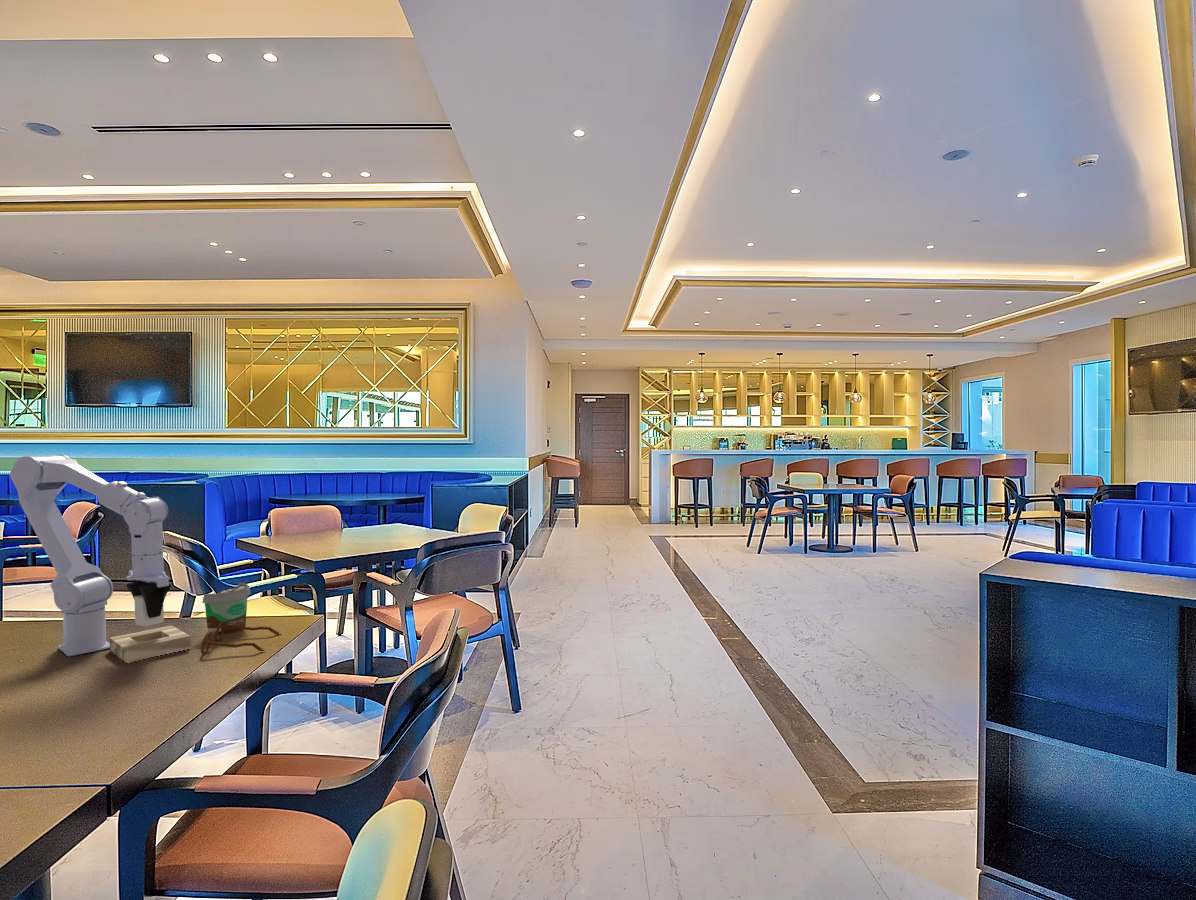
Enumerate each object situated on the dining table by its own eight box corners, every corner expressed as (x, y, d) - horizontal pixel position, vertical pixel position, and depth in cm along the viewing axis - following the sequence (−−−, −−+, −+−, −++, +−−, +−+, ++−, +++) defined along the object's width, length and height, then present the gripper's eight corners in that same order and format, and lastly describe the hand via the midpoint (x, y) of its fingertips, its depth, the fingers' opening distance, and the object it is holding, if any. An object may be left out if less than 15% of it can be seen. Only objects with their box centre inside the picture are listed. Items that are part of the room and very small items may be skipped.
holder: (110, 651, 148) (109, 637, 148) (172, 638, 157) (171, 625, 157) (126, 663, 140) (125, 649, 140) (190, 649, 149) (190, 635, 149)
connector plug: (135, 623, 148) (134, 596, 148) (155, 619, 151) (154, 592, 151) (143, 626, 146) (142, 598, 145) (163, 622, 149) (162, 595, 149)
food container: (226, 638, 157) (225, 595, 156) (203, 636, 158) (202, 594, 158) (262, 623, 169) (261, 583, 169) (241, 621, 170) (240, 582, 170)
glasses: (221, 639, 157) (220, 618, 157) (281, 636, 160) (280, 615, 159) (199, 659, 144) (198, 635, 144) (265, 654, 147) (265, 631, 147)
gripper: (112, 553, 149) (114, 614, 149) (142, 560, 140) (144, 625, 141) (148, 548, 154) (149, 607, 155) (178, 554, 146) (180, 616, 147)
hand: (149, 615), depth 148 cm, fingers closed on connector plug, 4 cm apart
